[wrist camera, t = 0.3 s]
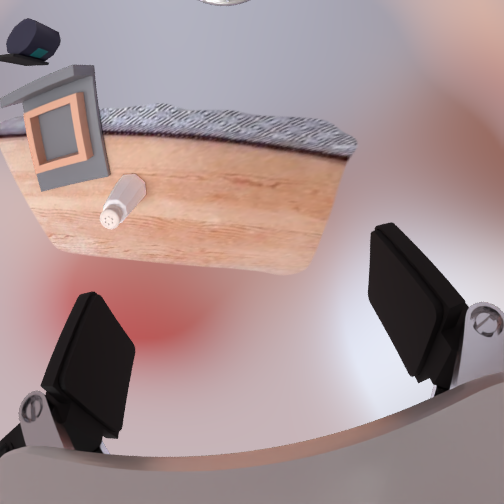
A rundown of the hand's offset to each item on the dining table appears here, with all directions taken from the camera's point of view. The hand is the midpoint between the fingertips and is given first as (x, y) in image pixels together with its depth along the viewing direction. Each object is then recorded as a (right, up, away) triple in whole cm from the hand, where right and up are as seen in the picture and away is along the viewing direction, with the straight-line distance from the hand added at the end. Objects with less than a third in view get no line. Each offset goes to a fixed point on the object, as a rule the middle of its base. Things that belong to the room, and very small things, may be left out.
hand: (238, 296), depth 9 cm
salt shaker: (-19, +11, +33) cm, 40 cm away
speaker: (-32, +34, +17) cm, 49 cm away
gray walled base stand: (-29, +20, +26) cm, 44 cm away
